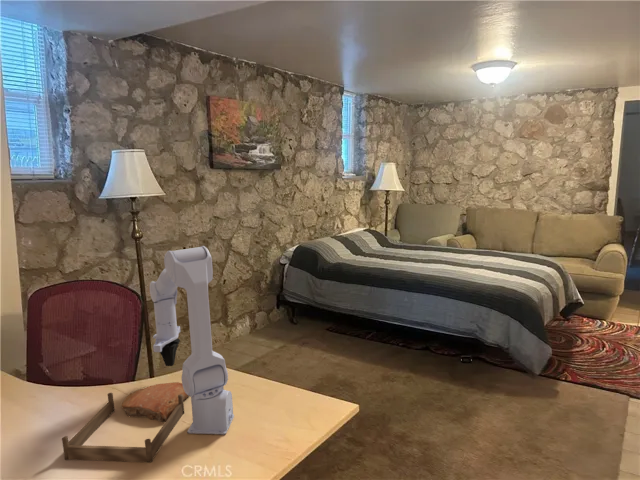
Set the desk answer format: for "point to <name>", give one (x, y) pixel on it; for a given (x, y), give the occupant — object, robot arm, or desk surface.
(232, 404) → the robot arm
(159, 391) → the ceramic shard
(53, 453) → the desk surface
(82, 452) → the wooden square frame
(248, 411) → the desk surface
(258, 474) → the desk surface
